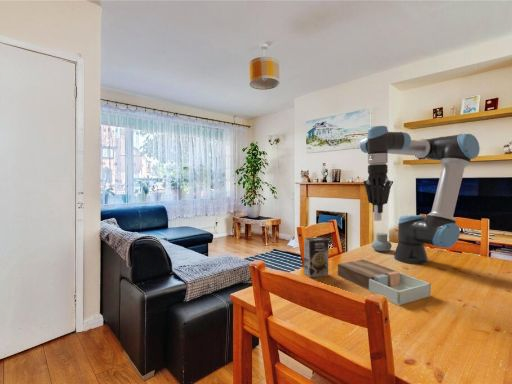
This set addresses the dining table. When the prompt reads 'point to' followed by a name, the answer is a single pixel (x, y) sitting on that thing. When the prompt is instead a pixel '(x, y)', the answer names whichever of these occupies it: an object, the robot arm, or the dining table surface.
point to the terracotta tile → (393, 279)
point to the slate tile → (381, 279)
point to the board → (361, 271)
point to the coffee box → (316, 256)
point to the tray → (402, 290)
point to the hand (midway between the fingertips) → (377, 220)
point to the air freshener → (381, 243)
